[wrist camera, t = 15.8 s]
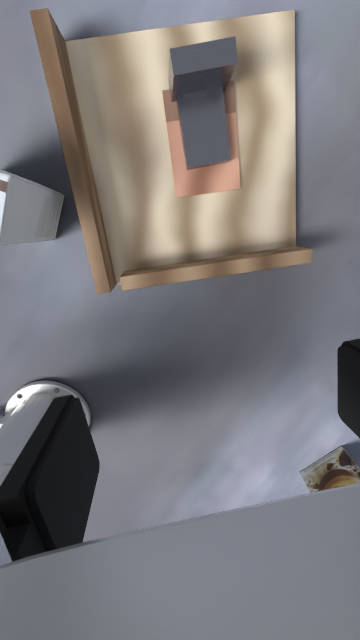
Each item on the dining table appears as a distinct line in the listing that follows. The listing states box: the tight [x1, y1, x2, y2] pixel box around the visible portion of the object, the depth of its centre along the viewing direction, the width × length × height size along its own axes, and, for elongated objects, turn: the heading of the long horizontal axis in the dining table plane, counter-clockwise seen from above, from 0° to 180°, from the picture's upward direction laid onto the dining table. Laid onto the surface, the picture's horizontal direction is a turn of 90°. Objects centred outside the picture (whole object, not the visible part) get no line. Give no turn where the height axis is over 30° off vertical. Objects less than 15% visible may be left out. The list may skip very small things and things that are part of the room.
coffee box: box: [300, 447, 360, 493], centre depth 44 cm, size 9×6×16 cm
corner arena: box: [30, 8, 313, 294], centre depth 32 cm, size 26×26×6 cm
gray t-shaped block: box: [168, 36, 238, 170], centre depth 30 cm, size 9×6×6 cm, turn 10°
